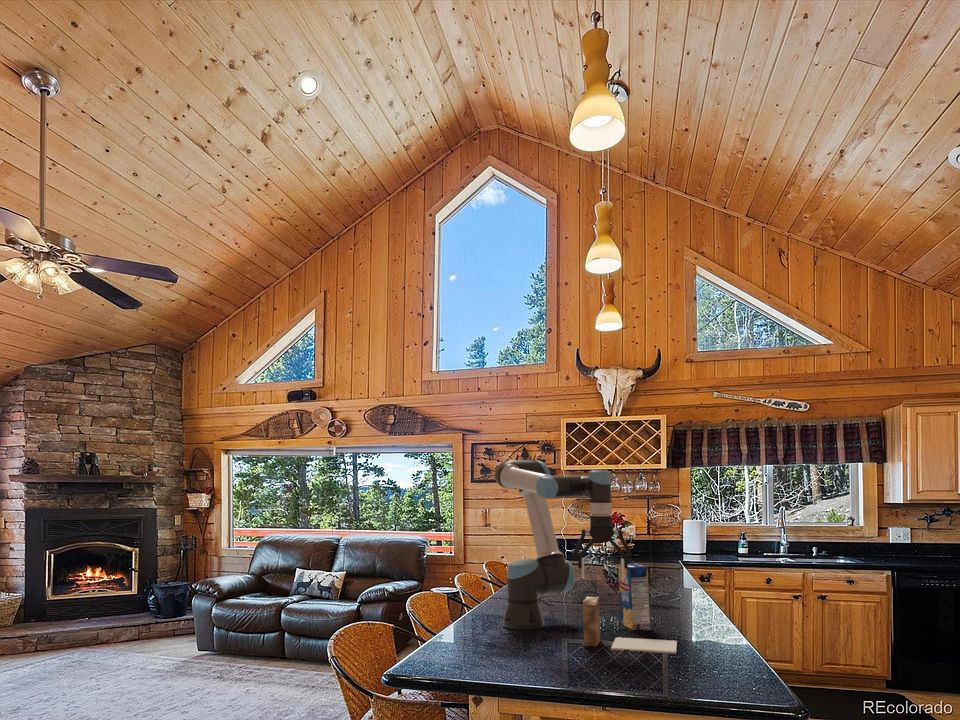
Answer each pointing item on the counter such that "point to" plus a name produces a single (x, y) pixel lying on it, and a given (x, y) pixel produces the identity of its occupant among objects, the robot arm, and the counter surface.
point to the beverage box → (634, 597)
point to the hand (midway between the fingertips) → (603, 578)
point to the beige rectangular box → (591, 621)
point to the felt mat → (645, 645)
